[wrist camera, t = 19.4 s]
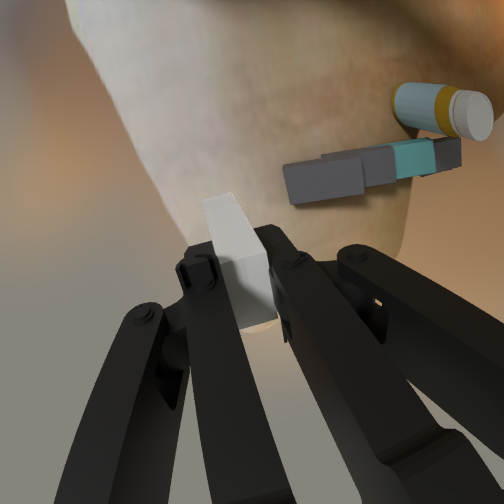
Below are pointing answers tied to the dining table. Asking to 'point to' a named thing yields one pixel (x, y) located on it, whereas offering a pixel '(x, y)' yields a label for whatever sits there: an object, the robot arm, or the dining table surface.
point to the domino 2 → (374, 164)
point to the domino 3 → (413, 157)
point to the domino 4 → (446, 153)
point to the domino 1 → (324, 178)
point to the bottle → (444, 110)
